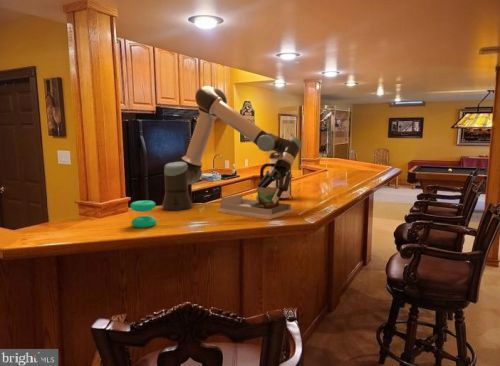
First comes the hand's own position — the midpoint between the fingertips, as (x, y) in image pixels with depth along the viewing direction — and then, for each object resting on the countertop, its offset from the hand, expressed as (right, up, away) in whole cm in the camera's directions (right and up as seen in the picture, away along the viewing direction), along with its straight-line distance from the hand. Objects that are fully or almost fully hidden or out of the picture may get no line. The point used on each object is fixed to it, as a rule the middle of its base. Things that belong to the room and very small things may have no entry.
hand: (265, 200), depth 170 cm
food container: (+3, -4, +3) cm, 5 cm away
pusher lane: (-5, -6, +9) cm, 11 cm away
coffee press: (+9, -1, +43) cm, 44 cm away
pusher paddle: (-4, -4, +8) cm, 9 cm away
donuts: (-51, -10, -16) cm, 55 cm away
